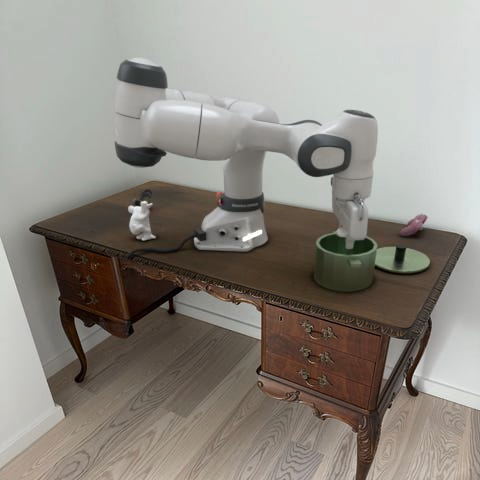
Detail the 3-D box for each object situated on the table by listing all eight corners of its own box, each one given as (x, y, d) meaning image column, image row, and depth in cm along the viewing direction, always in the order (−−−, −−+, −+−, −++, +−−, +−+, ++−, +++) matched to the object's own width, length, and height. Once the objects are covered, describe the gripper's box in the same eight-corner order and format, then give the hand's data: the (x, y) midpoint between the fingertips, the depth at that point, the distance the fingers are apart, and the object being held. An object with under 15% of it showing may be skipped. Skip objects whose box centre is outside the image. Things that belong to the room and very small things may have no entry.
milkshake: (355, 267, 114) (360, 228, 109) (333, 265, 115) (336, 227, 110) (355, 259, 118) (359, 221, 113) (333, 257, 119) (337, 220, 114)
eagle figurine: (157, 209, 165) (157, 196, 172) (143, 194, 161) (144, 182, 167) (140, 220, 168) (141, 208, 174) (127, 206, 163) (128, 193, 170)
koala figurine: (162, 236, 146) (157, 199, 140) (149, 244, 141) (144, 205, 135) (140, 232, 150) (134, 195, 143) (127, 240, 144) (120, 202, 138)
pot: (321, 298, 111) (324, 262, 106) (308, 262, 128) (310, 229, 122) (382, 296, 111) (388, 259, 106) (361, 260, 128) (365, 227, 123)
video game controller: (410, 243, 140) (424, 225, 136) (397, 234, 141) (411, 216, 136) (418, 232, 147) (432, 215, 143) (406, 224, 148) (420, 206, 143)
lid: (378, 276, 119) (380, 259, 117) (362, 251, 133) (364, 236, 130) (438, 274, 120) (442, 257, 117) (417, 249, 133) (419, 234, 130)
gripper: (378, 201, 98) (370, 260, 105) (354, 174, 115) (349, 227, 123) (348, 202, 98) (342, 261, 105) (329, 175, 115) (325, 228, 123)
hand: (345, 243), depth 114 cm, fingers closed on milkshake, 4 cm apart
